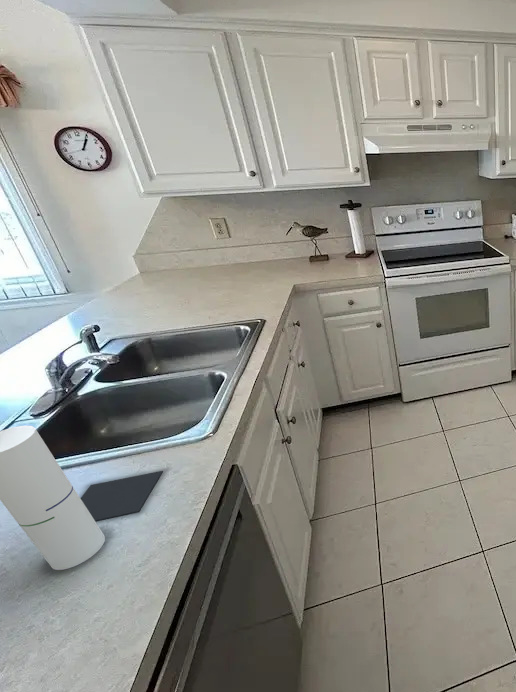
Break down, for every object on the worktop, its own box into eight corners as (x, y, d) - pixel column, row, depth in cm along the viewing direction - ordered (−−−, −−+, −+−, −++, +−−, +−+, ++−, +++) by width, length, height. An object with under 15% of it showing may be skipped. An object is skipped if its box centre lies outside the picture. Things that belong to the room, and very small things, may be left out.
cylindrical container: (113, 541, 74) (44, 432, 63) (62, 576, 68) (-23, 463, 58) (92, 527, 77) (23, 420, 66) (42, 560, 71) (-43, 449, 60)
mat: (57, 529, 77) (56, 528, 77) (91, 485, 86) (90, 484, 86) (139, 511, 80) (138, 510, 80) (163, 471, 90) (162, 470, 89)
